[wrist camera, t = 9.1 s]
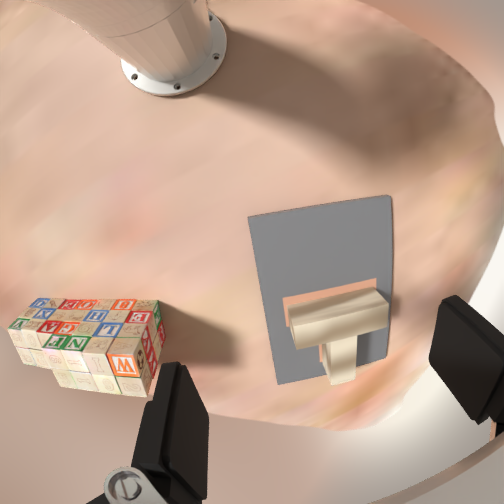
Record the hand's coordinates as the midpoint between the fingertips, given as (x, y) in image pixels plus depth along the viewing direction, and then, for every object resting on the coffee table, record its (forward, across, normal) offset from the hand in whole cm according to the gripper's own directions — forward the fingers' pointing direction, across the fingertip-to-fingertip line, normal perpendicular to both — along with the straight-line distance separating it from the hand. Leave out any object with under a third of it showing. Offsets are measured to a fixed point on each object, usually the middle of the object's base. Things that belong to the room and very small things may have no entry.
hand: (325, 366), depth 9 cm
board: (+26, -8, +14) cm, 30 cm away
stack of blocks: (+26, +26, +11) cm, 38 cm away
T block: (+25, -7, +18) cm, 32 cm away
